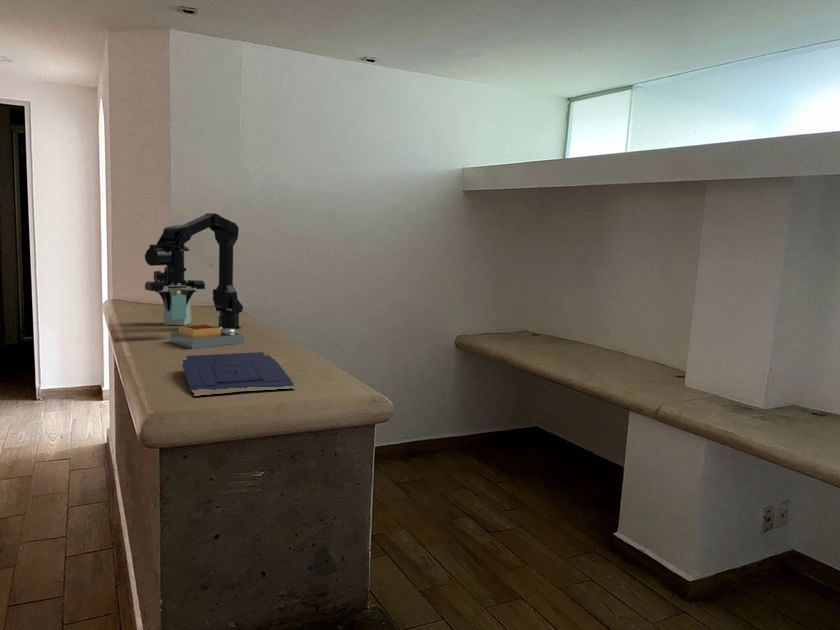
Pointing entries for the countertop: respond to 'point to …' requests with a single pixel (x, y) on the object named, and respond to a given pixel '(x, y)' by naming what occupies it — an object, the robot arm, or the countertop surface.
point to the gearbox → (205, 336)
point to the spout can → (176, 306)
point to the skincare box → (178, 321)
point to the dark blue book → (234, 371)
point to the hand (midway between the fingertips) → (175, 310)
